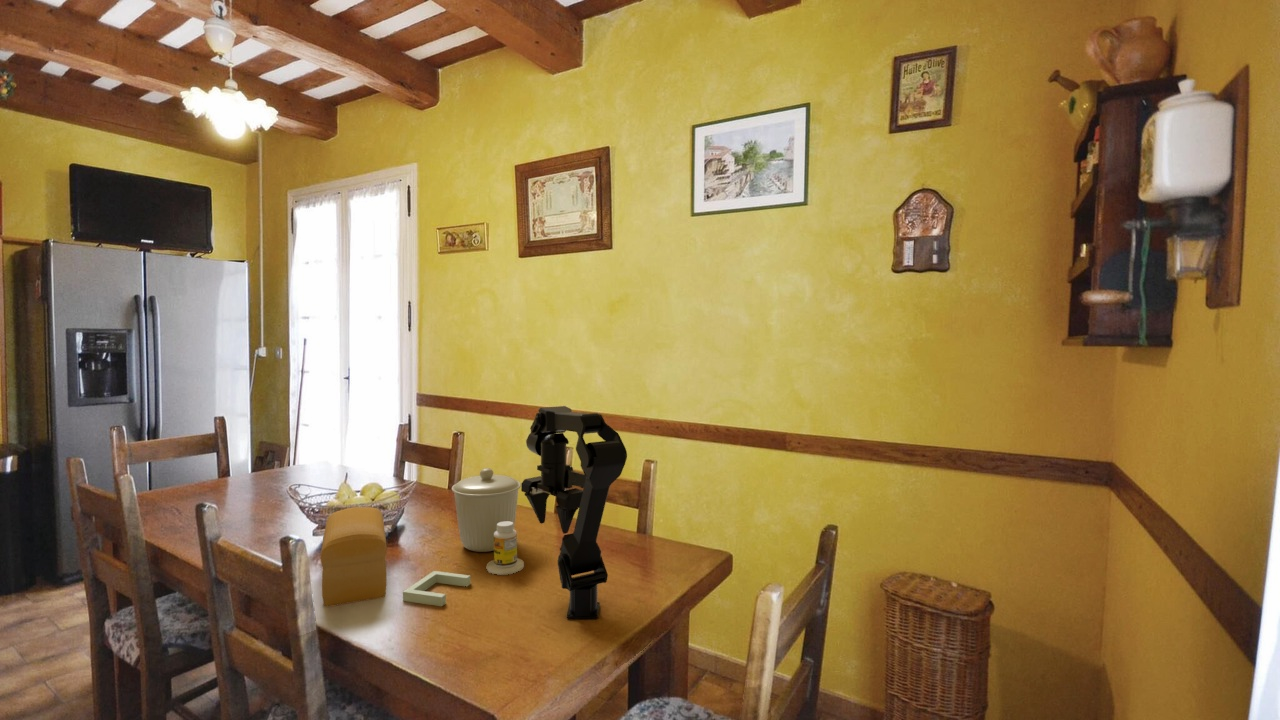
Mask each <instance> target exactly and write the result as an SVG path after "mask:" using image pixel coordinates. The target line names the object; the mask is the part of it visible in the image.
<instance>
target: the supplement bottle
mask: <svg viewBox="0 0 1280 720" xmlns="http://www.w3.org/2000/svg"><path fill="white" fill-rule="evenodd" d="M517 533H518V532H517V530H516V529H515V526H514V527H513V522H510V521H503V522H499V523H498V524H497V531H495V532H494V551H493V560H494V564H495V566H497V567H500V568H508V567H512V566H514V565H515V564H516V563H517V558H518V535H517Z"/></svg>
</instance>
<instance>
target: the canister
mask: <svg viewBox="0 0 1280 720" xmlns="http://www.w3.org/2000/svg"><path fill="white" fill-rule="evenodd" d="M521 483H522V482H520V481H519V480H516V479H515V478H513V477H512V476H507V475H504V474H494V470H493V469H491V468H487V467H486V468H482V469H481V470H480V471H479V475H473V476H470V477H469V476H468V477H465V478H462V479H461V480H458V482H457V483H454V484H453V485H452V487H451V491H452V492H453V493H454V501H455V502H454V503H455V508H456V509H455V510H456V518H457V519H456V520H457V526H458V532H459V538H460V542H461V543H462V545H463V547H464V549H467V550H468V551H472V552H478V553H487V552H494V532H495V531H497V524H498V523H499V522H503V521H510V522H513V527H514V528H515V526H516V525H515V523H516V516H517V507H518V499H519V498H518V496H519V489H520V488H521Z"/></svg>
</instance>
